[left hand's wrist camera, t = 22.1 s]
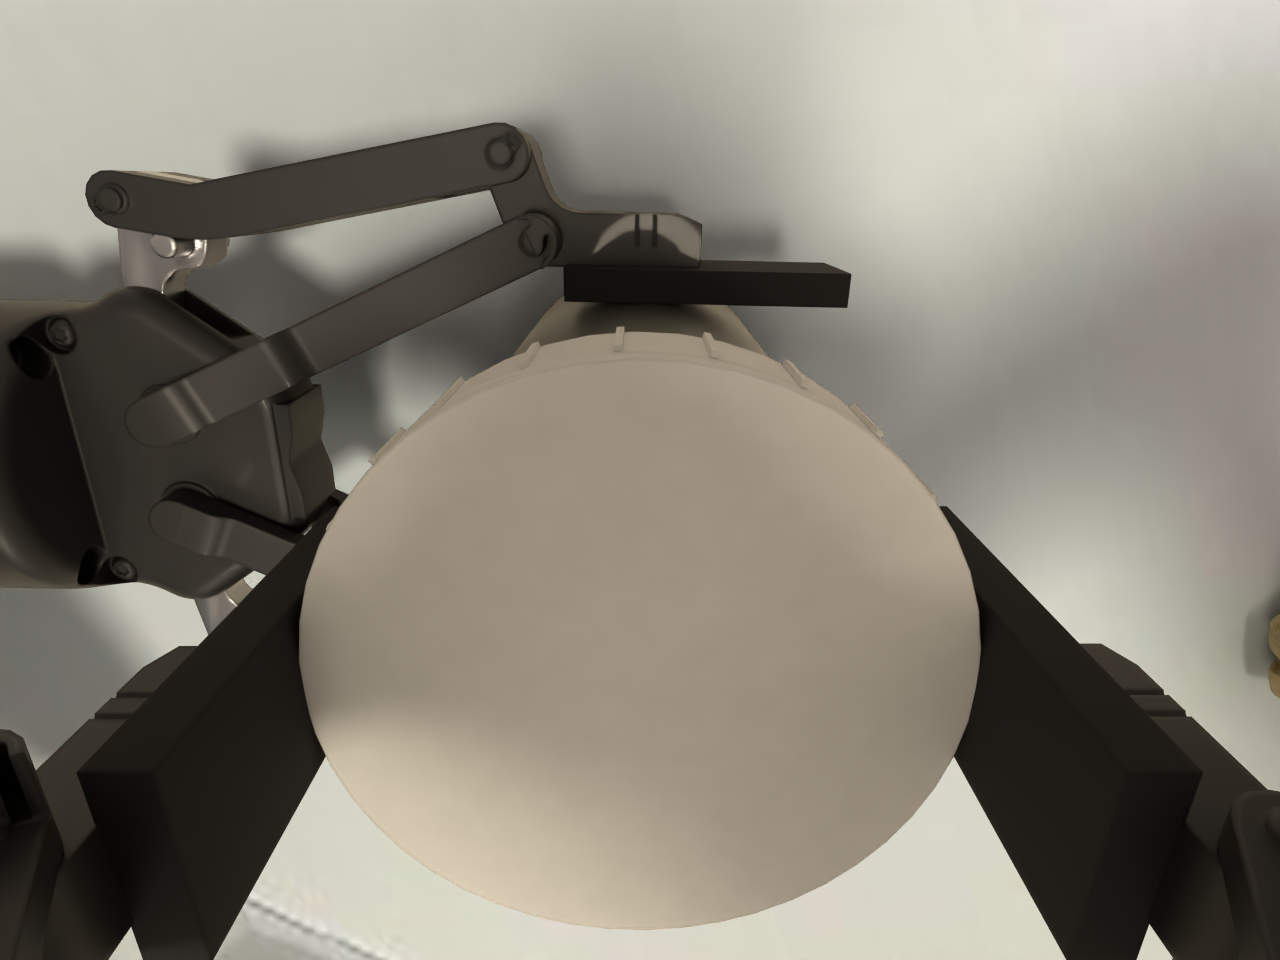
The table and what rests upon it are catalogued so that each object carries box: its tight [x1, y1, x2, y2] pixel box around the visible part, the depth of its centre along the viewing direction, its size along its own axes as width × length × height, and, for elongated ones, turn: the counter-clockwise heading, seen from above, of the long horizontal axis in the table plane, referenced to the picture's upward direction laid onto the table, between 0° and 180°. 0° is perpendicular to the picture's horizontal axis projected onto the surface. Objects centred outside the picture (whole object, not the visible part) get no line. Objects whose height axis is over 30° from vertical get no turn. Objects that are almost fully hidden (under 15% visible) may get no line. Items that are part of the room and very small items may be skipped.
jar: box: [512, 295, 768, 357], centre depth 19 cm, size 8×8×16 cm
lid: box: [299, 327, 981, 930], centre depth 11 cm, size 10×10×2 cm
